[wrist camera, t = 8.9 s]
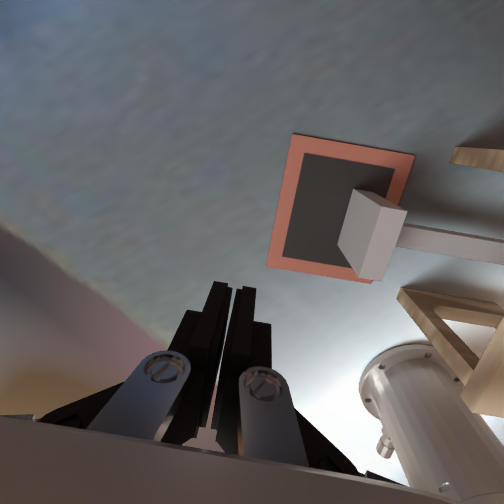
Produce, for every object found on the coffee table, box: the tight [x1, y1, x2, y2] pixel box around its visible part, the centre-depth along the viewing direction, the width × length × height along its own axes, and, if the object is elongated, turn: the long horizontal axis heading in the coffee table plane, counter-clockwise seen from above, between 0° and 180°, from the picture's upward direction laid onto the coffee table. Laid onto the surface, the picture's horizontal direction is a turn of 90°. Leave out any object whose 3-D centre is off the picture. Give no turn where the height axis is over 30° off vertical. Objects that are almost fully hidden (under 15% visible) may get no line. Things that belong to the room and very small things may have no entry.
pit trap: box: [266, 134, 415, 284], centre depth 32 cm, size 14×12×1 cm
